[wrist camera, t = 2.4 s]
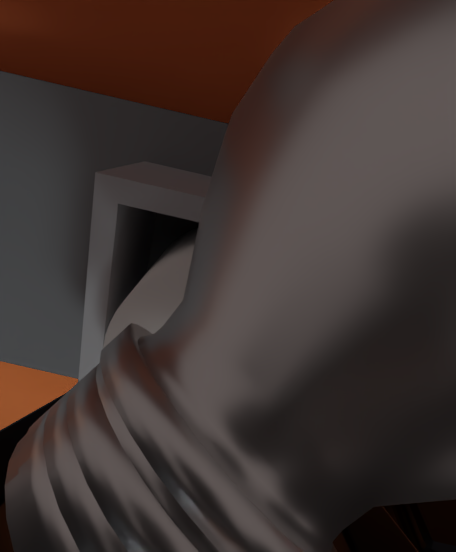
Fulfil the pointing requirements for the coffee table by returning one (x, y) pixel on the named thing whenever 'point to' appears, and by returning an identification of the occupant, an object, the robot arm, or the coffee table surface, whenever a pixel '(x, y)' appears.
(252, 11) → the coffee table surface
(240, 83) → the coffee table surface
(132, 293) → the grey button
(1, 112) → the twin socket base plate
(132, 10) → the coffee table surface
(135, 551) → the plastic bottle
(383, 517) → the robot arm
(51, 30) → the coffee table surface
